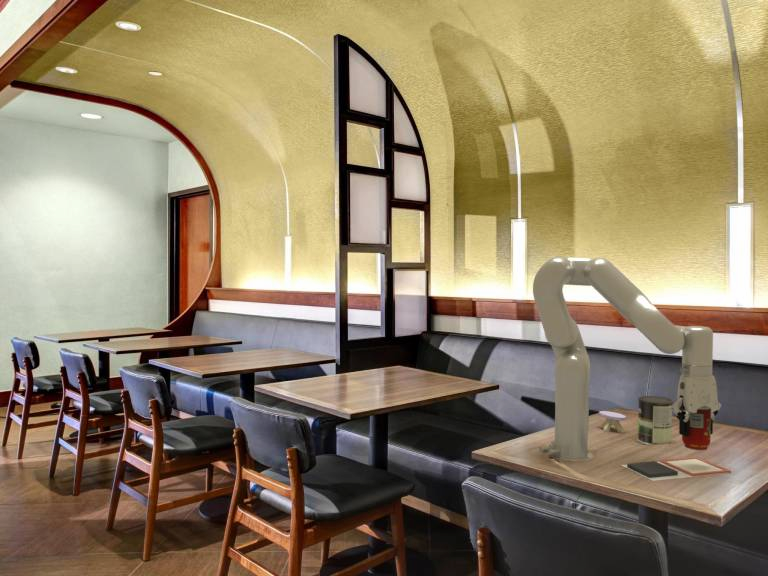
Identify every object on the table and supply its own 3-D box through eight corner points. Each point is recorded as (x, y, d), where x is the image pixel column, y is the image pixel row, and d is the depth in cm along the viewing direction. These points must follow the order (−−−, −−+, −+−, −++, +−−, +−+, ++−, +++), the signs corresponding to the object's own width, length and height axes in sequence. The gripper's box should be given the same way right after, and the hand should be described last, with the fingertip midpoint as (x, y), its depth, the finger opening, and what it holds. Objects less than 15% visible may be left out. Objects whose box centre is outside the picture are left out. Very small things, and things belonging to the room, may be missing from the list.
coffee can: (634, 443, 199) (635, 400, 199) (639, 436, 208) (640, 394, 208) (669, 448, 194) (671, 404, 193) (673, 440, 203) (674, 398, 202)
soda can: (713, 452, 168) (714, 407, 167) (684, 450, 170) (685, 405, 169) (706, 444, 175) (707, 401, 174) (679, 443, 176) (680, 400, 176)
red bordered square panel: (692, 476, 165) (692, 474, 165) (659, 461, 177) (659, 460, 177) (730, 472, 168) (730, 470, 168) (695, 458, 180) (695, 456, 180)
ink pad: (649, 478, 163) (649, 474, 163) (627, 467, 172) (627, 463, 172) (677, 475, 166) (677, 471, 166) (654, 464, 174) (654, 461, 174)
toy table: (592, 428, 218) (592, 411, 218) (611, 425, 222) (612, 409, 222) (612, 435, 209) (612, 418, 209) (632, 432, 213) (633, 416, 213)
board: (652, 485, 161) (652, 480, 161) (620, 469, 174) (621, 465, 174) (727, 477, 168) (727, 473, 168) (691, 462, 180) (691, 458, 180)
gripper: (680, 374, 166) (679, 440, 166) (733, 371, 170) (732, 435, 171) (661, 370, 173) (660, 433, 173) (712, 367, 178) (710, 428, 178)
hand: (695, 433), depth 172 cm, fingers closed on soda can, 7 cm apart
